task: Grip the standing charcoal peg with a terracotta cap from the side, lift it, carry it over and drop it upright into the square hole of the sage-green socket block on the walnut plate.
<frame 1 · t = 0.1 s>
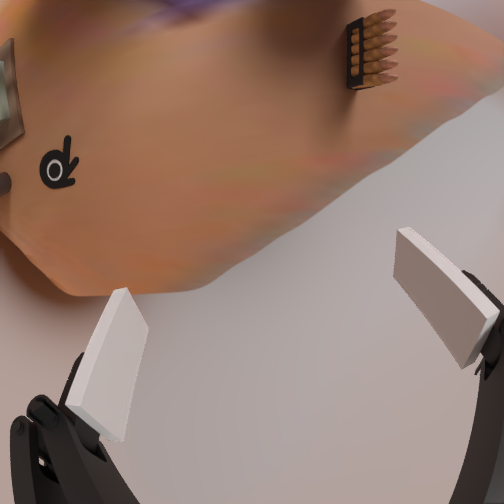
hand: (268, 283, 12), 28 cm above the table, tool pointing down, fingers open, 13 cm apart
blender logo cutout: (70, 151, 33), on the table
peg: (4, 182, 33), on the table
ammunition clip: (352, 56, 30), on the table
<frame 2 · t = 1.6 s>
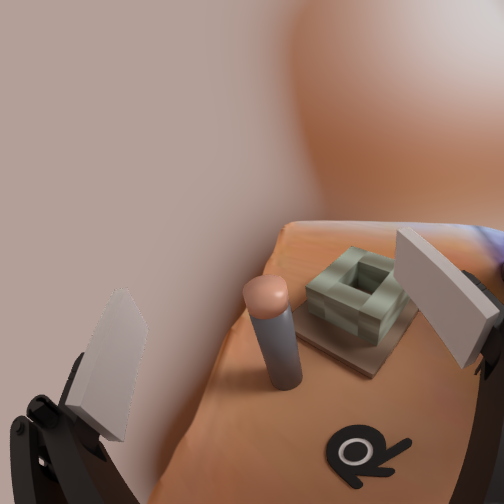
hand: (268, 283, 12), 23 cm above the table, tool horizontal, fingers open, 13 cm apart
blender logo cutout: (391, 456, 20), on the table
peg: (286, 377, 32), on the table
socket: (363, 307, 39), on the table
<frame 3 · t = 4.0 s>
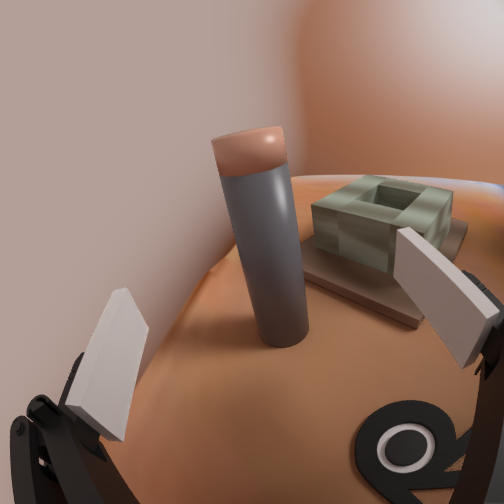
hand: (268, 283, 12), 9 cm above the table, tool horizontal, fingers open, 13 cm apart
blender logo cutout: (461, 450, 9), on the table
peg: (284, 328, 22), on the table
socket: (388, 246, 29), on the table
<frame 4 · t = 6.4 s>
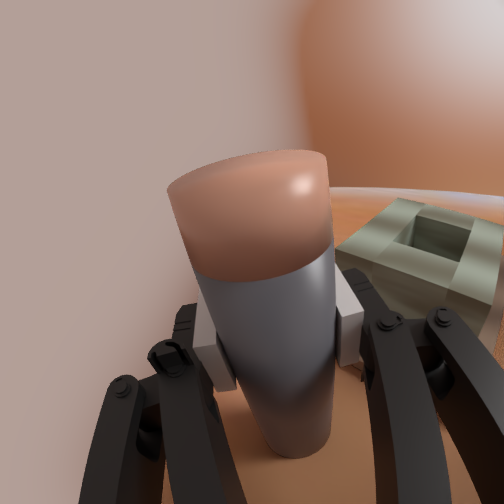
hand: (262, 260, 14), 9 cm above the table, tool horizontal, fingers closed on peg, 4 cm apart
peg: (297, 429, 14), on the table, touching gripper
socket: (425, 294, 21), on the table
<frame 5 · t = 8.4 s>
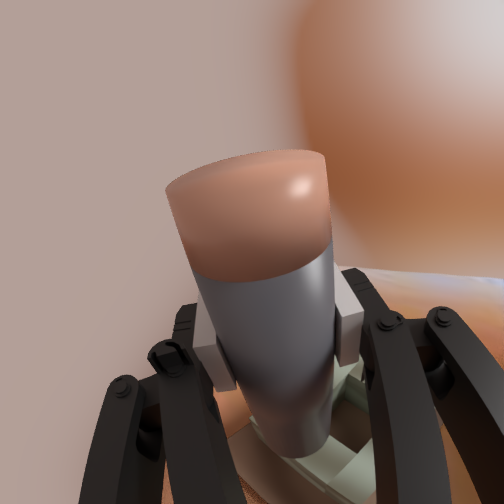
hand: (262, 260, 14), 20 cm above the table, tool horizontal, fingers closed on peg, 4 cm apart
peg: (296, 430, 14), point 11 cm above the table, touching gripper
socket: (346, 436, 21), on the table
when the fingers open (12 cm above the table, at t = 10.6 s): peg drops 1 cm, resting on socket.
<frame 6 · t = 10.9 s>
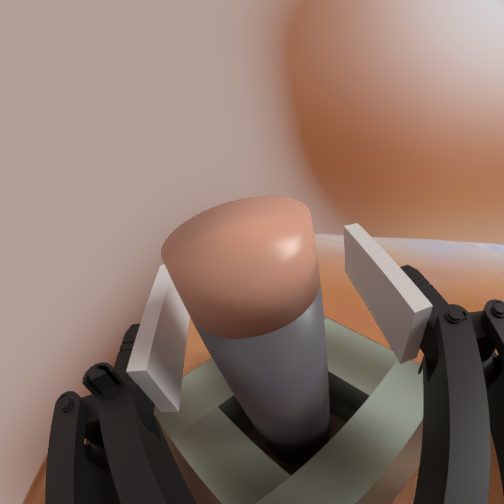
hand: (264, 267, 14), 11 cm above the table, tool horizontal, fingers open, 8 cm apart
peg: (299, 437, 15), point 1 cm above the table, touching socket
socket: (299, 442, 15), on the table
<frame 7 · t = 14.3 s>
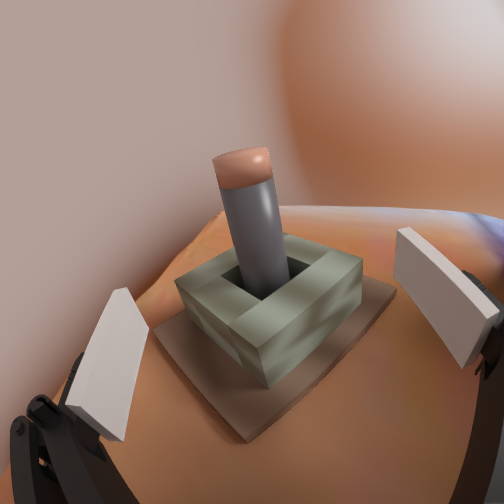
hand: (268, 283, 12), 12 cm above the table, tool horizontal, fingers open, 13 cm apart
peg: (273, 313, 26), point 1 cm above the table, touching socket
socket: (274, 320, 27), on the table
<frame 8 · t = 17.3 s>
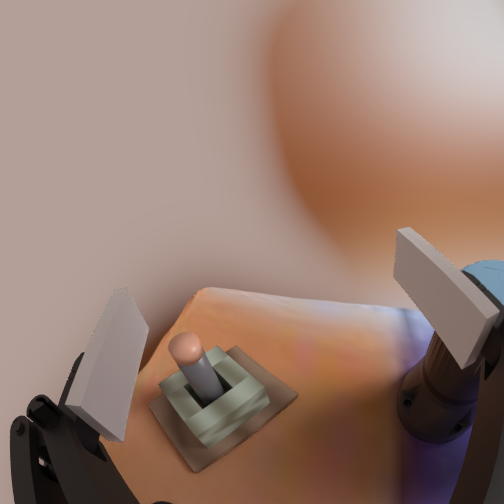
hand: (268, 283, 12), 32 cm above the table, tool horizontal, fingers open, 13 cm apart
peg: (217, 402, 39), point 1 cm above the table, touching socket
socket: (218, 405, 40), on the table
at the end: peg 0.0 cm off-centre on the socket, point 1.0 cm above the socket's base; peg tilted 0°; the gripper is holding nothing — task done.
